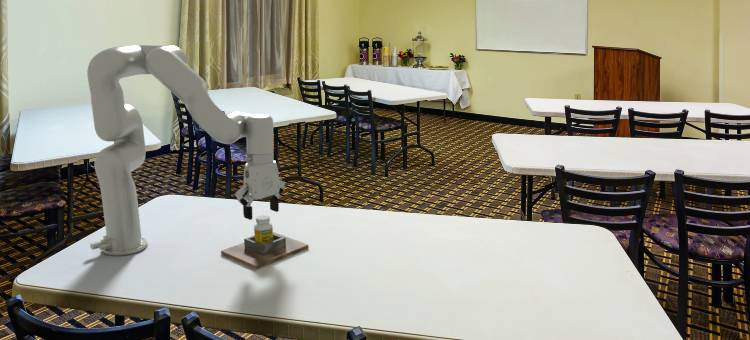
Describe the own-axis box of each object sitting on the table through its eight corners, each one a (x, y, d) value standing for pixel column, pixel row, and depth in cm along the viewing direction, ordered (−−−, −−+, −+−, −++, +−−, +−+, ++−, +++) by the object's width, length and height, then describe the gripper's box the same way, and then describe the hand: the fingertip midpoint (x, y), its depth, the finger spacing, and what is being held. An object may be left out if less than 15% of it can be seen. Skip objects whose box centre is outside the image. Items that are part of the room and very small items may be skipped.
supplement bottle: (266, 242, 180) (265, 212, 177) (277, 247, 176) (275, 217, 174) (251, 247, 176) (249, 217, 174) (261, 252, 173) (260, 221, 170)
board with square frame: (255, 269, 164) (254, 255, 163) (221, 254, 174) (220, 241, 173) (308, 248, 179) (308, 235, 178) (274, 235, 189) (273, 223, 188)
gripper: (243, 165, 160) (245, 225, 165) (292, 155, 173) (292, 210, 178) (227, 160, 165) (229, 218, 170) (275, 150, 178) (276, 205, 182)
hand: (261, 214), depth 174 cm, fingers open, 9 cm apart
